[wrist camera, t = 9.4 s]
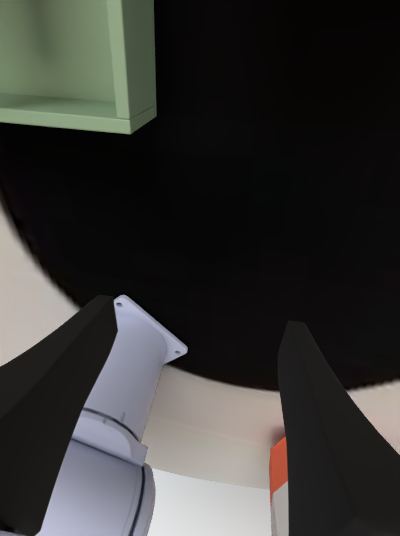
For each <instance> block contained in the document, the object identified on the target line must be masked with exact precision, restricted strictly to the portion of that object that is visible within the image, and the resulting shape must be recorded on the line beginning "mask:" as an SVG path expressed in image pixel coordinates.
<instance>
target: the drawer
mask: <svg viewBox="0 0 400 536" xmlns="http://www.w3.org/2000/svg"><path fill="white" fill-rule="evenodd" d="M155 117H156V77H155V35H154V0H0V122H5V123H15V124H26V125H37V126H47V127H58V128H68V129H79V130H89V131H100V132H111V133H121V134H132V133H133V132H134V131H136V130H137V129H139V128H140V127H142V126H143V125H144V124H146V123H147V122H149V121H150V120H152V119H153V118H155Z"/></svg>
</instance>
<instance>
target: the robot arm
mask: <svg viewBox="0 0 400 536" xmlns="http://www.w3.org/2000/svg"><path fill="white" fill-rule="evenodd" d="M120 303H121V304H120ZM187 350H188V347H187V346H186V345H185V344H184V343H182V342H181V341H180V340H179V339H178V338H176V337H175V336H174V335H173V334H172V333H170V332H169V331H168V330H167V329H166V328H165V327H163V326H162V325H161V324H160V323H159V322H157V321H156V320H155V319H154V318H153V317H152V316H150V315H149V314H148V313H147V312H146V311H144V310H143V309H142V308H141V307H140V306H139V305H137V304H136V303H135V302H134V301H133V300H131V299H130V298H129V297H128V296H126V295H120V296H119V297H117V298H116V299H115V300H113V297H112V296H105V295H98V296H97V297H95V298H94V299H93V300H92V301H91V302H89V303H88V304H87V305H86V306H85V307H83V308H82V309H81V310H80V311H79V312H77V313H76V314H75V315H74V316H73V317H71V318H70V319H69V320H68V321H66V322H65V323H64V324H63V325H61V326H60V327H59V328H58V329H56V330H55V331H54V332H52V333H51V334H50V335H48V336H47V337H45V338H44V339H43V340H41V341H40V342H39V343H37V344H36V345H34V346H33V347H31V348H30V349H29V350H27V351H26V352H24V353H22V354H21V355H19V356H18V357H16V358H14V359H13V360H11V361H10V362H8V363H6V364H4V365H3V366H1V367H0V536H147V534H148V530H149V527H150V523H151V519H152V515H153V510H154V502H155V482H154V479H153V472H152V469H151V467H150V466H149V465H148V464H146V463H144V461H145V457H146V453H147V449H148V447H147V446H145V445H143V444H141V441H142V437H143V434H144V430H145V426H146V423H147V419H148V416H149V412H150V409H151V405H152V402H153V398H154V395H155V391H156V388H157V384H158V381H159V377H160V374H161V370H162V367H163V364H165V363H167V362H169V361H172V360H174V359H176V358H178V357H180V356H182V355H184V354H186V353H187ZM278 381H279V389H280V397H281V404H282V412H283V419H284V427H285V434H286V445H287V470H288V522H289V536H400V455H399V454H398V453H397V452H396V451H395V450H394V449H393V448H392V446H391V445H390V444H389V443H388V442H387V441H386V440H385V439H384V438H383V437H382V436H381V435H380V433H379V432H378V431H377V430H376V429H375V428H374V426H373V425H372V424H371V423H370V422H369V420H368V419H367V418H366V417H365V416H364V414H363V413H362V412H361V411H360V409H359V408H358V407H357V405H356V404H355V403H354V402H353V400H352V399H351V397H350V396H349V395H348V393H347V392H346V390H345V389H344V388H343V386H342V385H341V383H340V382H339V380H338V379H337V377H336V376H335V374H334V373H333V371H332V370H331V368H330V366H329V365H328V363H327V362H326V360H325V358H324V357H323V355H322V353H321V352H320V350H319V348H318V346H317V345H316V343H315V341H314V339H313V337H312V336H311V334H310V332H309V330H308V328H307V326H306V324H305V323H303V322H296V321H288V323H287V327H286V330H285V333H284V336H283V339H282V342H281V346H280V349H279V352H278Z"/></svg>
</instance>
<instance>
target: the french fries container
mask: <svg viewBox="0 0 400 536" xmlns="http://www.w3.org/2000/svg"><path fill="white" fill-rule="evenodd" d="M269 476H270V500H271V501H270V502H271V528H272V536H289V522H288V470H287V445H286V436H285V437H284V438H283V439H281V440H280V441H279V442H278V443H277V444H276V445H274V446H273V447H272V448H271V452H270V463H269Z"/></svg>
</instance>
